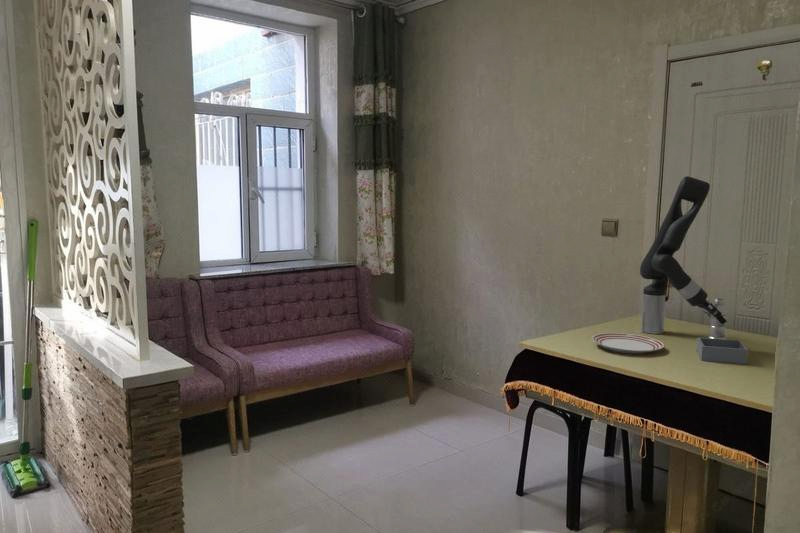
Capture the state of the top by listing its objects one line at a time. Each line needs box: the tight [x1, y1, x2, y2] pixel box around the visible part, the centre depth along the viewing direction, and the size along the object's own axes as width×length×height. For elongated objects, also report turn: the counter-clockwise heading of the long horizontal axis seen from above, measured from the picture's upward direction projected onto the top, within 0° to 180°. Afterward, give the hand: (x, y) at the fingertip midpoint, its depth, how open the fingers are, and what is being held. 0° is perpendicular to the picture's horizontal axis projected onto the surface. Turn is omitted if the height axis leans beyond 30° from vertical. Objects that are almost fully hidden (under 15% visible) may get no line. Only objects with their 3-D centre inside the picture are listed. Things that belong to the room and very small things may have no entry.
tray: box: [696, 337, 749, 365], centre depth 229 cm, size 15×15×6 cm
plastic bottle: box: [707, 297, 729, 339], centre depth 242 cm, size 6×7×20 cm
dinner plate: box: [591, 332, 665, 355], centre depth 243 cm, size 27×27×3 cm
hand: (719, 320), depth 242 cm, fingers open, 8 cm apart
